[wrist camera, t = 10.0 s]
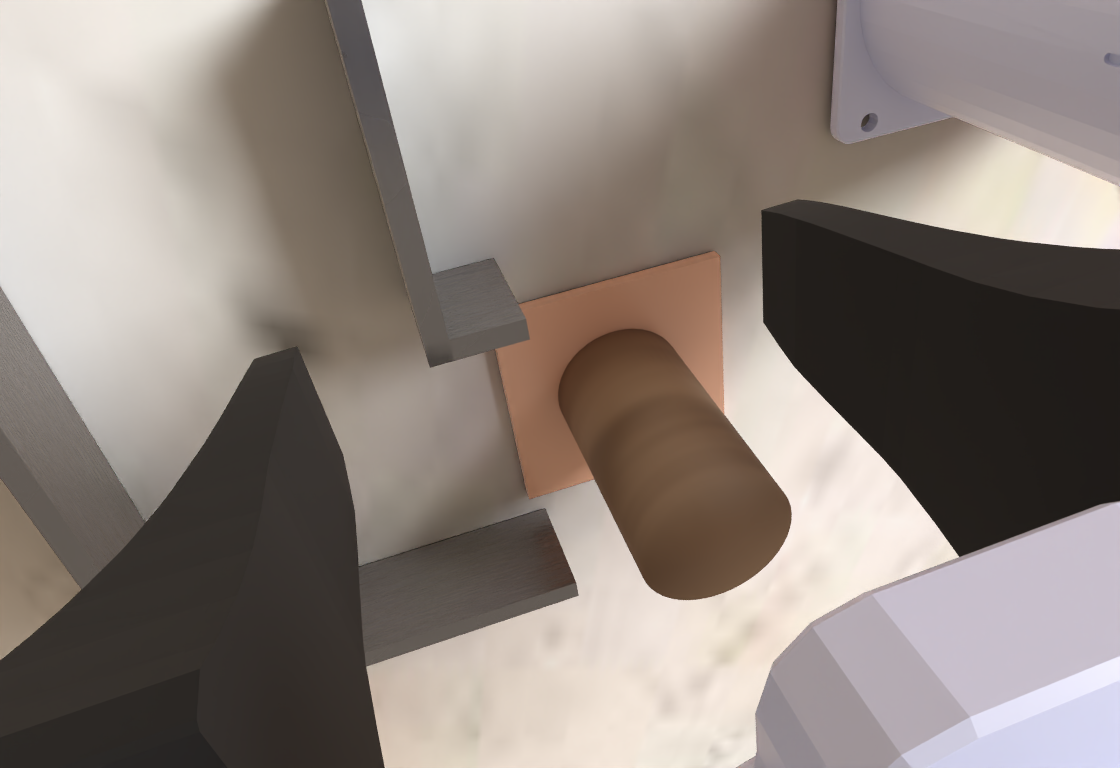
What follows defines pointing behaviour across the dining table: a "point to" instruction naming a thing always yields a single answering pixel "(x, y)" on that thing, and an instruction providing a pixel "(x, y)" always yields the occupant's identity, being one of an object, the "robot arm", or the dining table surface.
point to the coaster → (584, 315)
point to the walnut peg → (671, 467)
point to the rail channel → (447, 335)
